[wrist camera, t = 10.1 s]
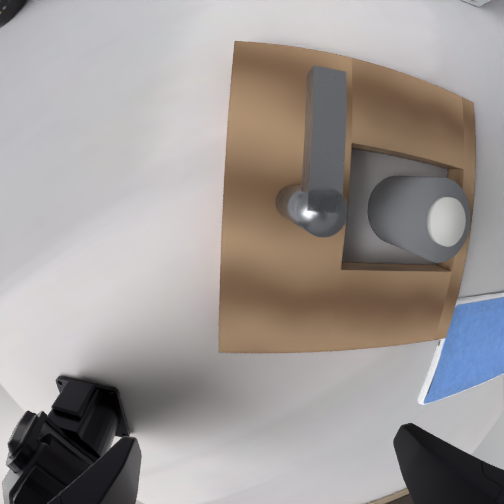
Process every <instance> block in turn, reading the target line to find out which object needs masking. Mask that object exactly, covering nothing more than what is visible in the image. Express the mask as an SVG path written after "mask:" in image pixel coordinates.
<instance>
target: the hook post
mask: <svg viewBox="0 0 504 504" xmlns="http://www.w3.org/2000/svg"><path fill="white" fill-rule="evenodd" d="M345 143H346V72H345V71H341V70H336V69H331V68H326V67H320V66H315V65H314V66H313V67H312V68H311V70H310V71H309V72H308V73H307V75H306V109H305V133H304V153H303V170H302V185H289V186H286V187H284V188H282V189H281V190H280V191H279V192H278V194H277V196H276V208H277V210H278V212H279V213H280V214H281V215H282V216H283V217H285V218H286V219H288V220H290V221H291V222H293V223H294V224H296V225H298V226H299V227H301V228H302V229H304V230H305V231H307V232H309V233H310V234H312V235H314V236H316V237H321V238H326V237H330V236H333V235H335V234H336V233H338V232H339V231H340V230H341V229H342V228H343V226H344V225H345V223H346V220H347V216H348V207H347V203H346V201H345V199H344V197H343V196H342V195H343V181H344V165H345Z"/></svg>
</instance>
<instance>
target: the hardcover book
mask: <svg viewBox="0 0 504 504" xmlns="http://www.w3.org/2000/svg"><path fill="white" fill-rule="evenodd" d="M368 504H414V503H413V501H412V498H411V496H410V493H409V491H408V488H407V489H404V490H402V491H400V492H397V493H395V494H392V495H390V496H387V497H385V498H382V499H379V500H376V501H374V502H371V503H368Z"/></svg>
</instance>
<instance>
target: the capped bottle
mask: <svg viewBox="0 0 504 504" xmlns="http://www.w3.org/2000/svg"><path fill="white" fill-rule="evenodd" d="M368 218H369V222H370V225H371V227H372V229H373V231H374V233H375V234H376V235H377V236H378V237H379V238H380V239H382V240H383V241H385V242H387V243H390V244H392V245H394V246H397V247H399V248H401V249H404V250H406V251H408V252H411V253H413V254H415V255H418V256H420V257H422V258H424V259H426V260H429V261H431V262H435V263H442V262H445V261H448V260H450V259H451V258H453V257H454V256H455V255H456V254H457V253H458V252H459V251H460V249H461V248H462V246H463V245H464V243H465V241H466V238H467V235H468V232H469V227H470V208H469V203H468V199H467V197H466V195H465V193H464V191H463V189H462V188H461V187H460V186H459V185H458V184H457V183H456V182H455V181H453V180H451V179H449V178H444V177H409V176H393V177H388V178H386V179H384V180H382V181H381V182H380V183H379V184H378V185H377V186H376V187H375V189H374V190H373V192H372V194H371V196H370V199H369V204H368Z"/></svg>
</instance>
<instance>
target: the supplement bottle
mask: <svg viewBox="0 0 504 504" xmlns="http://www.w3.org/2000/svg"><path fill="white" fill-rule="evenodd" d="M25 1H26V0H0V26H2V25H3V24H5V23H6V22H7V21H9V20H10V19H11V18H12V17H13V16H14V15H15V14H16V13H17V12H18V10H19V9H20V8H21V7H22V5H23V4H24V3H25Z"/></svg>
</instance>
